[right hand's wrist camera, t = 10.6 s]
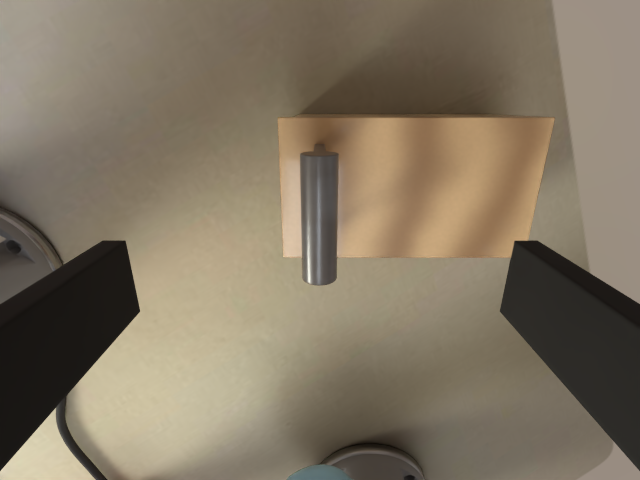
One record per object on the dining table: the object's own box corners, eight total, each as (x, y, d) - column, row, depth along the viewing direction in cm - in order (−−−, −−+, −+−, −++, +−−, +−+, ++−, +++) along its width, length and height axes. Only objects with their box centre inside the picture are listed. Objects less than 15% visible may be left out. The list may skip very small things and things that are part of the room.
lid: (284, 253, 27) (270, 309, 19) (279, 117, 24) (259, 122, 16) (518, 253, 27) (595, 310, 19) (547, 117, 24) (654, 122, 16)
